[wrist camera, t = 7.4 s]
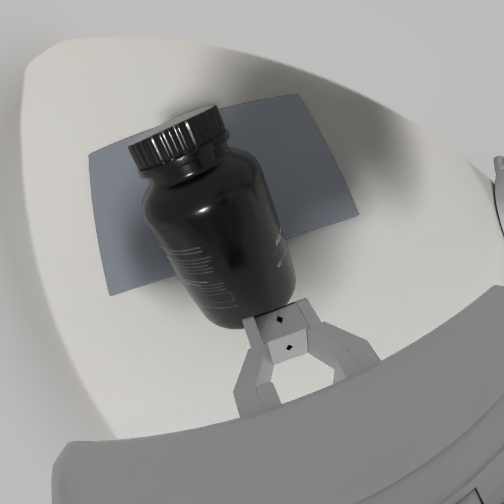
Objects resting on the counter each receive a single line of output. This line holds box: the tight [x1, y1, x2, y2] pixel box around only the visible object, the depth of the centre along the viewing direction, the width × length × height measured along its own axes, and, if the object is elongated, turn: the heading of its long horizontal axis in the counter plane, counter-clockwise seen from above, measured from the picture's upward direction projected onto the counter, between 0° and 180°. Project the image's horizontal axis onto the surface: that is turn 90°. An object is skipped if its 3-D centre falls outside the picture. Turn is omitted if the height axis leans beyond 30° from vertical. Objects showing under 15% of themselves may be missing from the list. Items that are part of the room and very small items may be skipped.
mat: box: [88, 94, 359, 296], centre depth 23 cm, size 22×14×1 cm, turn 109°
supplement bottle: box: [128, 105, 296, 329], centre depth 15 cm, size 7×7×12 cm
